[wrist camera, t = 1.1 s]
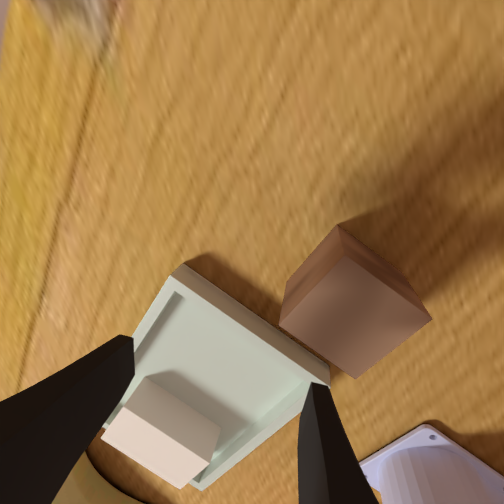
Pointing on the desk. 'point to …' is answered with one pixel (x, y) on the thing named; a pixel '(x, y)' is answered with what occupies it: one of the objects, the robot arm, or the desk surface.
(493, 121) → the desk surface
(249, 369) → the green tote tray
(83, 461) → the banana
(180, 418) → the pale pink block
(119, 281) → the desk surface
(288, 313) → the walnut block
